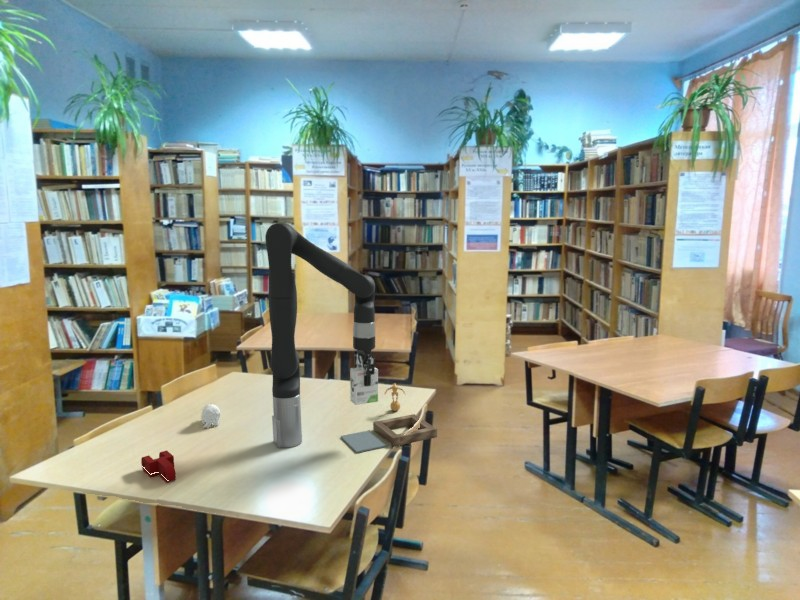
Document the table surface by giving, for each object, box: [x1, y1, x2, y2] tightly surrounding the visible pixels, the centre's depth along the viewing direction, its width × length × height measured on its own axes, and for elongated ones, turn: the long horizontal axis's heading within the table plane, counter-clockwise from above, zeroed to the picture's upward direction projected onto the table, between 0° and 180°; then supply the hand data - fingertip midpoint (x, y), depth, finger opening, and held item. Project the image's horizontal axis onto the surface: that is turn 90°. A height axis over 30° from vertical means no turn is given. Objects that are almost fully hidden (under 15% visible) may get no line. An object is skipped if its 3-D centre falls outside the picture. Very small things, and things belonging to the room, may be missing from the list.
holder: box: [372, 413, 438, 447], centre depth 194 cm, size 17×17×3 cm
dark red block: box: [140, 450, 177, 484], centre depth 165 cm, size 16×7×5 cm, turn 42°
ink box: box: [349, 367, 379, 406], centre depth 185 cm, size 9×5×12 cm, turn 116°
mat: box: [340, 429, 388, 454], centre depth 187 cm, size 11×15×1 cm
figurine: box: [384, 382, 406, 412], centre depth 216 cm, size 8×6×12 cm
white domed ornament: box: [200, 403, 221, 429], centre depth 206 cm, size 6×8×12 cm
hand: (364, 383), depth 185 cm, fingers closed on ink box, 5 cm apart
